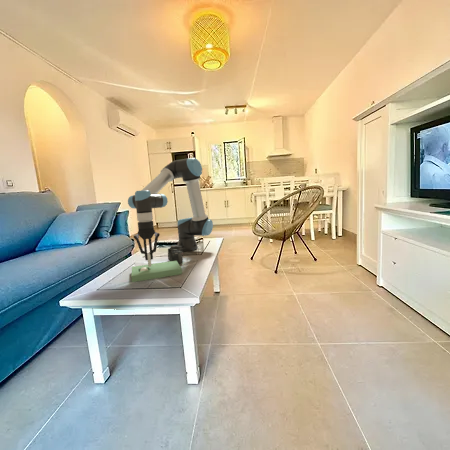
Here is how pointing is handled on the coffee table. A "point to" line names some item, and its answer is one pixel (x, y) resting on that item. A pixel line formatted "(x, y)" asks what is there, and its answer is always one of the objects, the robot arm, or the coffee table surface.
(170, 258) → the camera
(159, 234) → the robot arm
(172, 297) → the coffee table surface
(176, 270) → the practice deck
